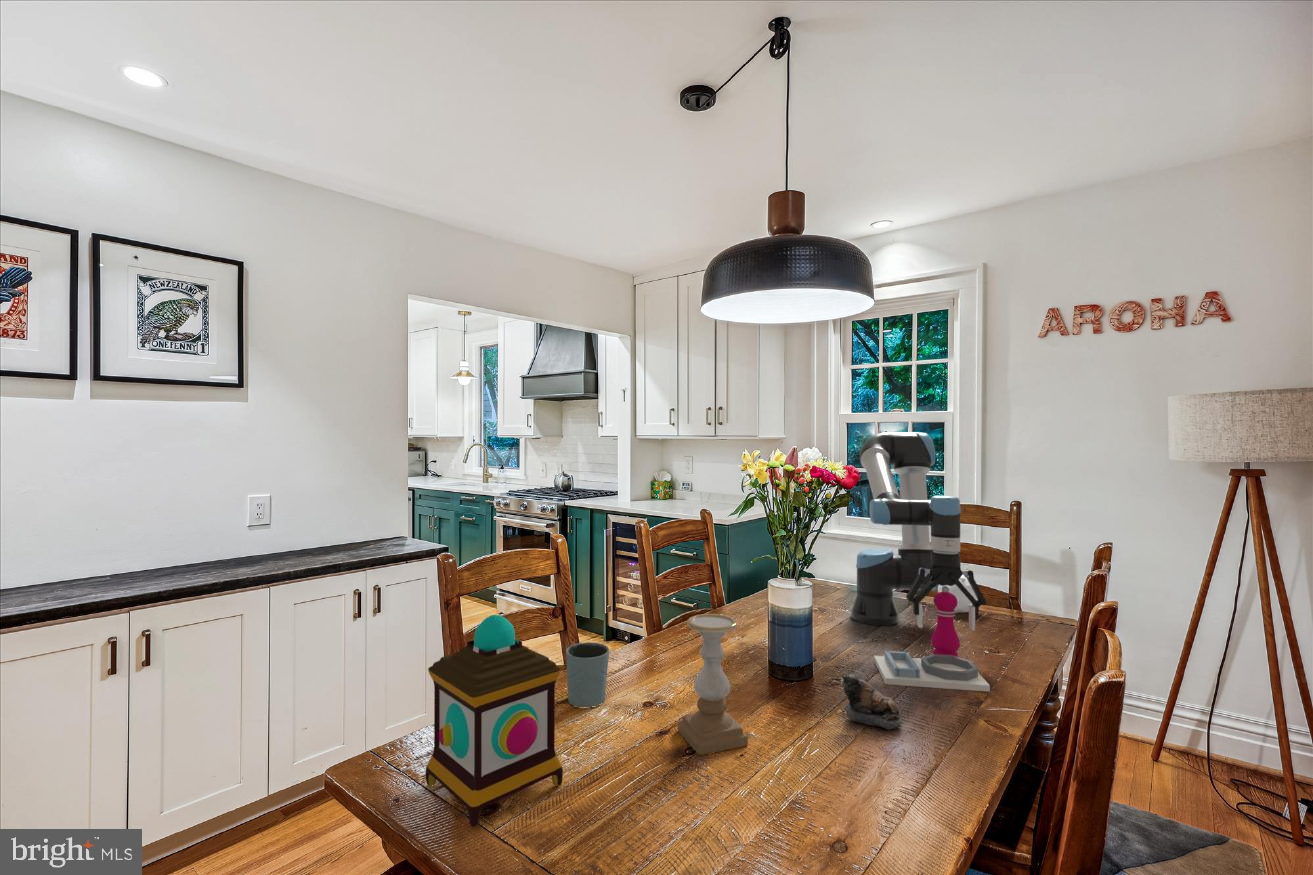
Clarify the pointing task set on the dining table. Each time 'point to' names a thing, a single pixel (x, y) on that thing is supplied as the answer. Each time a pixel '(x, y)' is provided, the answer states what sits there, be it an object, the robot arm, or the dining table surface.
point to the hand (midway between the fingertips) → (945, 628)
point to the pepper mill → (945, 624)
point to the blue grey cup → (587, 673)
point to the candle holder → (712, 692)
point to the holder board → (928, 677)
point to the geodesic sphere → (960, 595)
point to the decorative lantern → (493, 718)
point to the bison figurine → (869, 704)
